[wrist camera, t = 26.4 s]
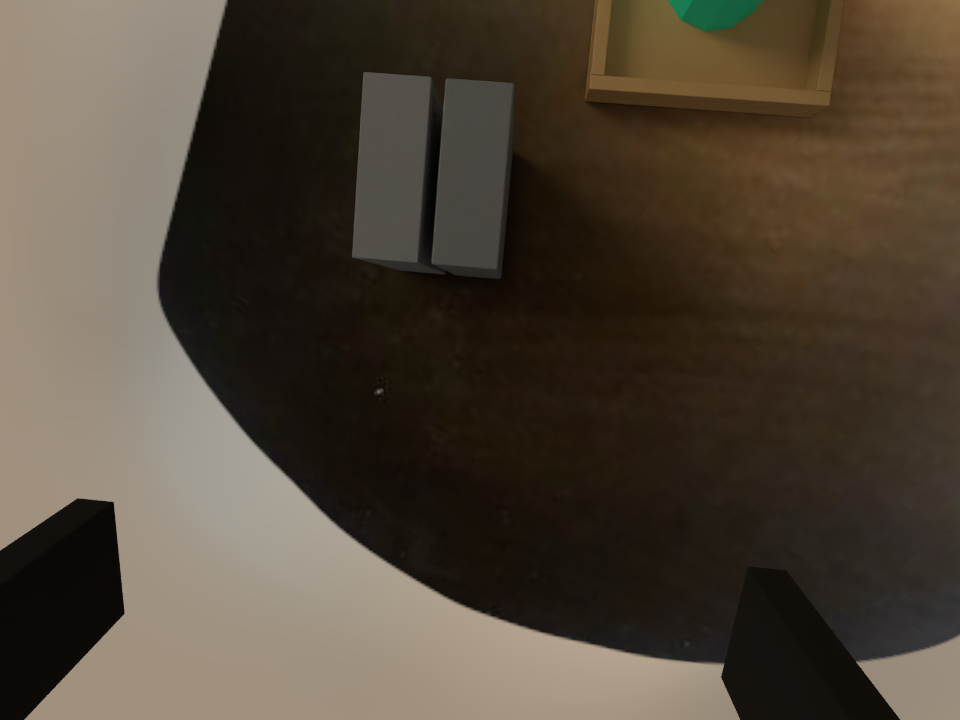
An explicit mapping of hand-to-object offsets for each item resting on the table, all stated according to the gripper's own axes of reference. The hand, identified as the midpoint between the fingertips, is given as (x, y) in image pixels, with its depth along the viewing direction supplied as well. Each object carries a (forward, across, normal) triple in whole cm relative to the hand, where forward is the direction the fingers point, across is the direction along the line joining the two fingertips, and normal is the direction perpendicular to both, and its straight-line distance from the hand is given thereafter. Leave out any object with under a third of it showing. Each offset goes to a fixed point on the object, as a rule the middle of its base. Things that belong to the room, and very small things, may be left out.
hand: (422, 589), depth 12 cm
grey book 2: (+27, 0, +7) cm, 28 cm away
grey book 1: (+27, -4, +7) cm, 28 cm away
